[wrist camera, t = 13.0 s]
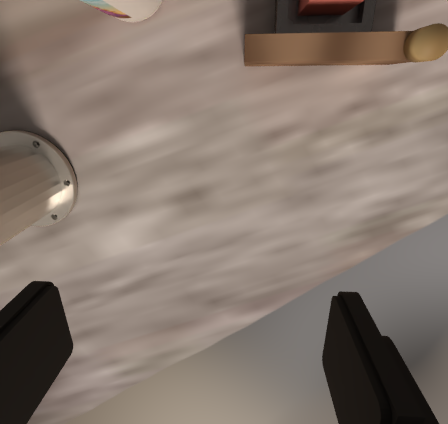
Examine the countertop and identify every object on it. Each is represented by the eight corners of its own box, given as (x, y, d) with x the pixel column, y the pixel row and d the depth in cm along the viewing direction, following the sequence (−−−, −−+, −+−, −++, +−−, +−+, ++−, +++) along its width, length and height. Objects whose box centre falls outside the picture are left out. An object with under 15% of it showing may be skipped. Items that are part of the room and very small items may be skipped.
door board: (244, 68, 33) (244, 63, 24) (245, 42, 32) (244, 27, 23) (388, 66, 32) (446, 60, 23) (393, 40, 31) (455, 23, 22)
